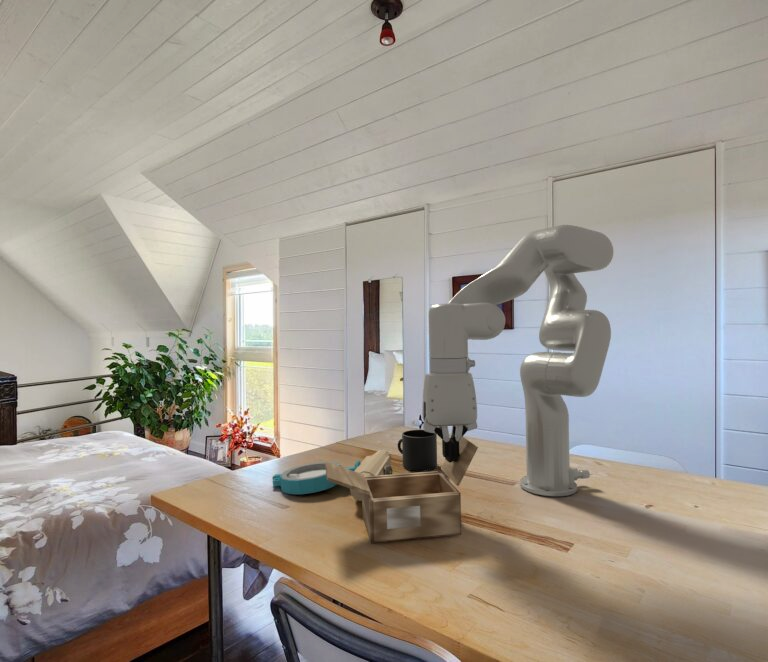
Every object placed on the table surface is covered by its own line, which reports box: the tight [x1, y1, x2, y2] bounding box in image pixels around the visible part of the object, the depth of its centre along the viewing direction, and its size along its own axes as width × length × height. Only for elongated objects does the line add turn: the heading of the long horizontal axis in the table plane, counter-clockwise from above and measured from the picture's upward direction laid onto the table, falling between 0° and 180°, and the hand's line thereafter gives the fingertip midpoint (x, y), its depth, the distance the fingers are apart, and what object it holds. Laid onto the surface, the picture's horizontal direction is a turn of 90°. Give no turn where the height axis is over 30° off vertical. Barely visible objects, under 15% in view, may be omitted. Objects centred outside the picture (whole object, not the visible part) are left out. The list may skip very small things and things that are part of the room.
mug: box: [397, 429, 438, 472], centre depth 127 cm, size 9×12×9 cm
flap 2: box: [440, 436, 479, 487], centre depth 91 cm, size 1×10×8 cm, turn 9°
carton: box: [361, 470, 462, 544], centre depth 89 cm, size 17×14×8 cm
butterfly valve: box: [271, 449, 394, 502], centre depth 111 cm, size 27×7×30 cm
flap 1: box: [325, 461, 370, 495], centre depth 87 cm, size 1×10×8 cm
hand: (451, 460), depth 90 cm, fingers closed
